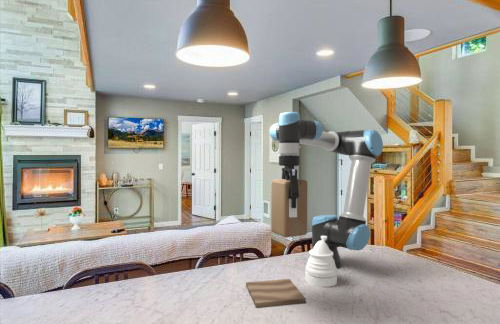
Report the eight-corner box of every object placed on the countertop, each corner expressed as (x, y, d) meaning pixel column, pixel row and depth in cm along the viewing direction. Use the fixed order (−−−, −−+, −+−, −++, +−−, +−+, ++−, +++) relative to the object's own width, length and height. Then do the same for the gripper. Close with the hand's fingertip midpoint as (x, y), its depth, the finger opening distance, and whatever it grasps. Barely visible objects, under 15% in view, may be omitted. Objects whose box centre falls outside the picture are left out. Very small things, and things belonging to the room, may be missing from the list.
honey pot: (316, 272, 143) (316, 232, 142) (343, 280, 134) (343, 237, 133) (299, 280, 134) (299, 237, 133) (326, 289, 125) (326, 243, 124)
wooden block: (308, 235, 116) (308, 180, 116) (285, 238, 112) (285, 181, 111) (292, 229, 125) (292, 178, 125) (270, 232, 121) (270, 179, 120)
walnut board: (246, 286, 128) (246, 282, 128) (289, 282, 131) (289, 278, 131) (255, 307, 110) (255, 303, 110) (305, 302, 114) (305, 298, 114)
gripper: (308, 155, 106) (308, 220, 107) (291, 154, 130) (291, 208, 131) (286, 155, 105) (285, 220, 106) (273, 154, 129) (273, 208, 130)
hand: (288, 213), depth 118 cm, fingers closed on wooden block, 12 cm apart
